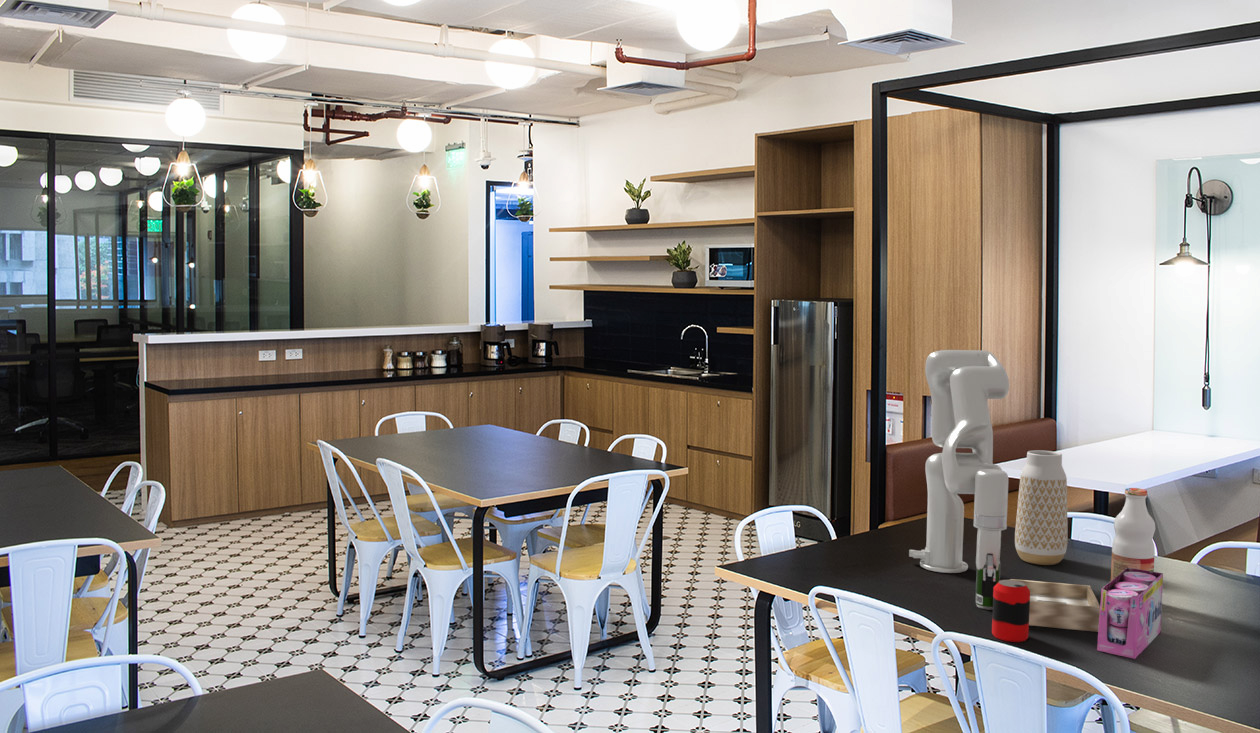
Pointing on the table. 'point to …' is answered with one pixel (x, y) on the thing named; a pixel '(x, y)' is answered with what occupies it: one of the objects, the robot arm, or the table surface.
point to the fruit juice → (1133, 535)
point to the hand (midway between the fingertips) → (987, 591)
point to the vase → (1042, 509)
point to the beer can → (981, 601)
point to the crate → (1063, 606)
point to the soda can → (1011, 611)
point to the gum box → (1130, 612)
